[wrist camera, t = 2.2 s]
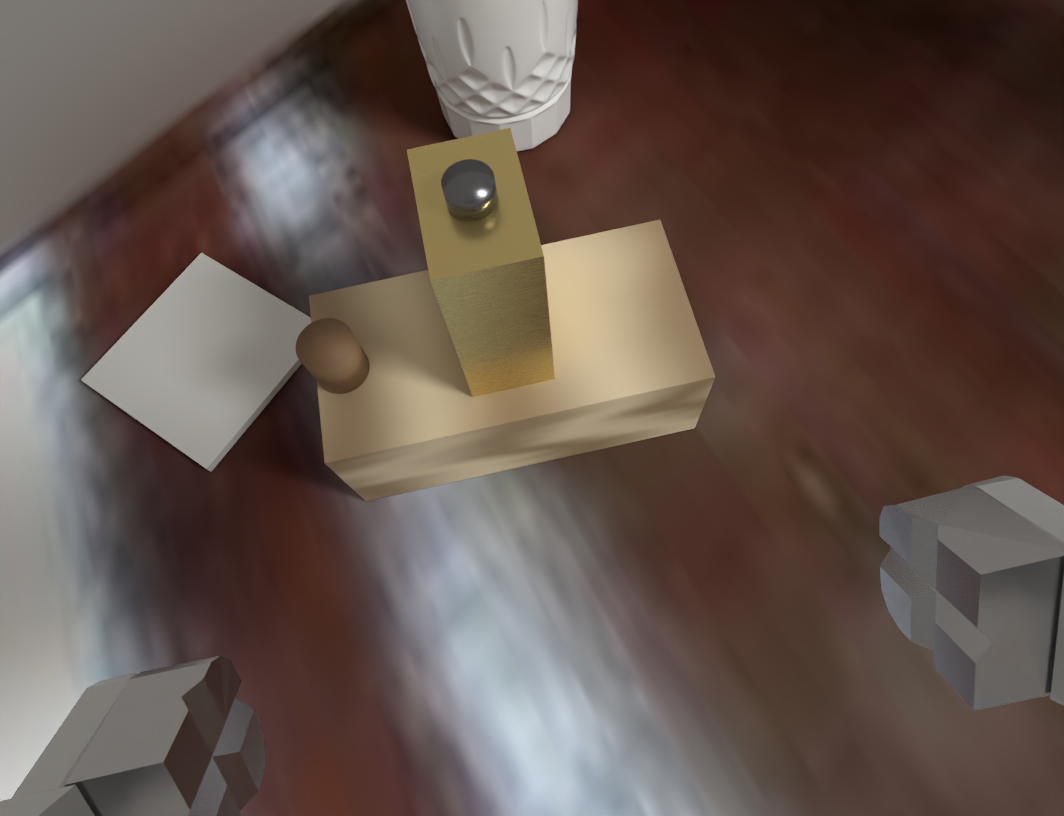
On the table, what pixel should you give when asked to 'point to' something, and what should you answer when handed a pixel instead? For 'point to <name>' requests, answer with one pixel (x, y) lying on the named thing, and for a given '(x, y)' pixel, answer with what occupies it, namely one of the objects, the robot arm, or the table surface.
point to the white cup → (499, 63)
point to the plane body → (516, 414)
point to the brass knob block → (485, 259)
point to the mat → (202, 360)
